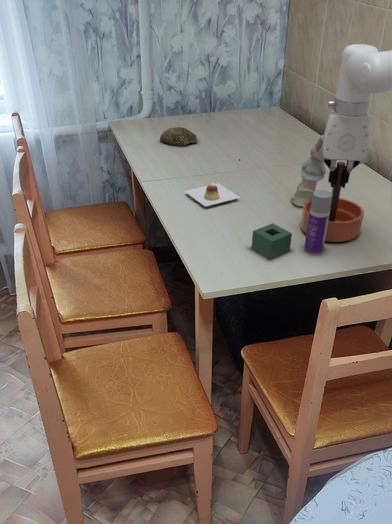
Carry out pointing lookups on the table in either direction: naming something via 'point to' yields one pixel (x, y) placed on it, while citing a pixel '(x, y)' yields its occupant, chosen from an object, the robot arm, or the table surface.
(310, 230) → the container
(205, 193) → the dessert
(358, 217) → the bowl
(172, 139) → the brown rock
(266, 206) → the table surface
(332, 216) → the stick
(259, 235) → the holder
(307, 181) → the figurine
